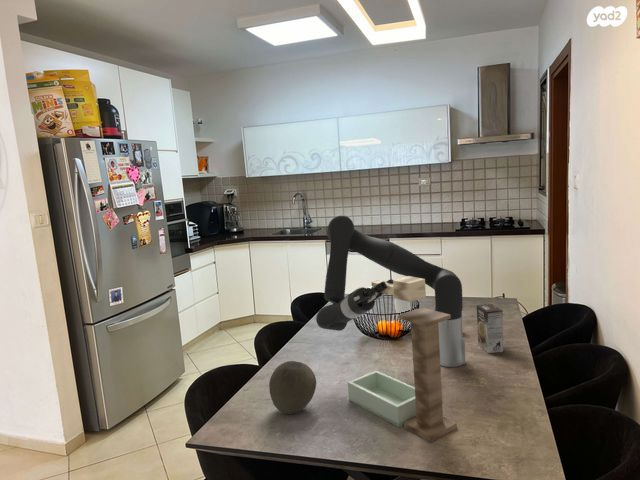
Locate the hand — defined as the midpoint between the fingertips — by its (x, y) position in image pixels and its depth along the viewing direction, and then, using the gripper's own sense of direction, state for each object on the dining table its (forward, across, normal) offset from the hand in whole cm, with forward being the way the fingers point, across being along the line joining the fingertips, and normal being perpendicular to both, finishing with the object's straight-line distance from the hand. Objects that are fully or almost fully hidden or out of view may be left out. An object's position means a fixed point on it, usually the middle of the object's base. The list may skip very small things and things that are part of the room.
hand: (388, 283), depth 136 cm
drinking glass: (-61, +52, +10) cm, 81 cm away
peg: (+1, 0, +4) cm, 4 cm away
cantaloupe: (-38, -22, +23) cm, 50 cm away
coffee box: (-27, +58, +29) cm, 71 cm away
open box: (-23, 0, +32) cm, 39 cm away
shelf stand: (-8, 0, +40) cm, 41 cm away
